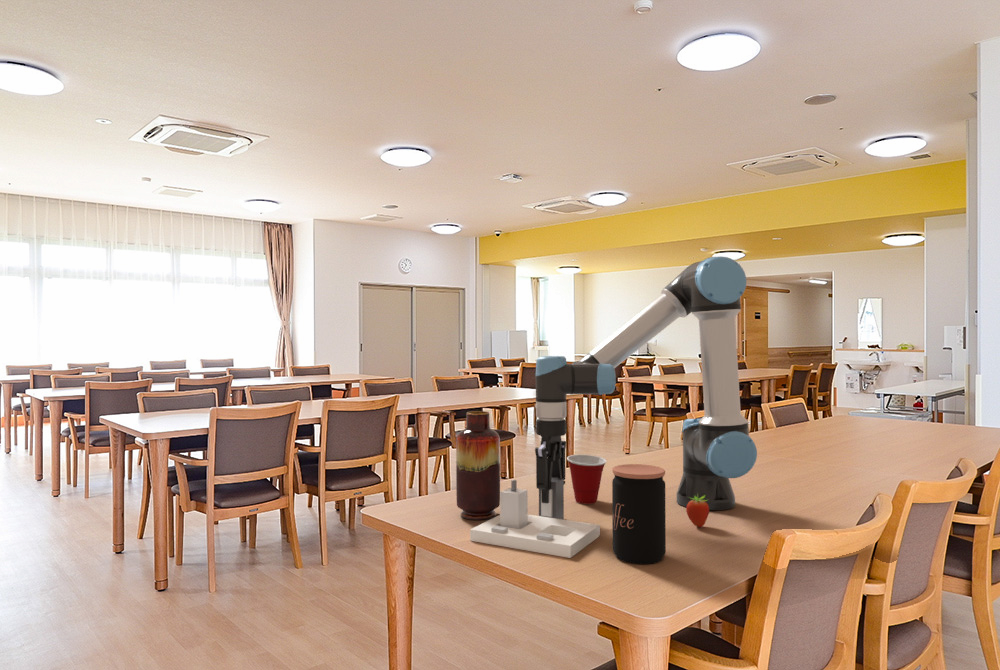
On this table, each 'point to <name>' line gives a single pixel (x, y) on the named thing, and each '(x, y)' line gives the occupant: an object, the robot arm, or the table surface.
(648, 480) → the coffee jar
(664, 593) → the table surface
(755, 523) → the table surface
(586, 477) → the plastic cup
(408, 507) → the table surface
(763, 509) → the table surface
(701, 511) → the fruit
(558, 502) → the dark grey block
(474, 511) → the vase
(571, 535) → the white peg board
